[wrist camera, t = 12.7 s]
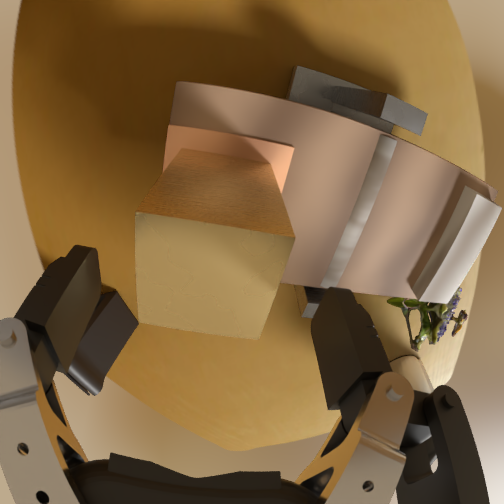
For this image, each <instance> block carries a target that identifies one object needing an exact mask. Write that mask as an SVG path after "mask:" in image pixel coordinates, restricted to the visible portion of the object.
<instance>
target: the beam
mask: <svg viewBox="0 0 504 504" xmlns="http://www.w3.org/2000/svg"><path fill="white" fill-rule="evenodd" d="M182 148H185V149H192V150H198V151H205V152H211V153H217V154H223V155H229V156H234V157H240V158H245V159H250V160H255V161H260V162H265V163H270V164H271V166H272V169H273V172H274V175H275V177H276V180H277V183H278V186H279V189H280V192H281V195H282V198H283V201H284V204H285V207H286V210H287V213H288V216H289V219H290V222H291V225H292V228H293V231H294V234H295V237H296V239H295V242H294V245H293V247H292V250H291V253H290V256H289V259H288V262H287V265H286V267H285V270H284V273H283V276H282V279H281V281H280V283H287V284H295V285H302V286H310V287H317V288H325V289H327V288H329V287H338V288H346V289H350V290H351V291H352V292H357V293H366V294H374V295H383V296H392V297H401V298H410V299H418V301H423V302H433V303H444V304H448V302H449V301H450V299H451V298H452V296H453V295H454V293H455V292H456V290H457V289H458V287H459V286H460V284H461V283H462V281H463V279H464V278H465V276H466V275H467V273H468V271H469V270H470V268H471V266H472V265H473V263H474V261H475V260H476V258H477V256H478V254H479V253H480V251H481V249H482V247H483V245H484V243H485V242H486V240H487V238H488V236H489V234H490V232H491V230H492V228H493V226H494V224H495V222H496V220H497V218H498V216H499V214H500V211H501V209H502V208H501V207H500V206H499V205H497V204H496V203H495V202H494V200H495V198H496V195H497V193H498V191H497V190H496V189H494V188H493V187H491V186H490V185H488V184H487V183H485V182H484V181H482V180H481V179H479V178H477V177H476V176H474V175H472V174H471V173H469V172H467V171H465V170H464V169H462V168H460V167H458V166H456V165H455V164H453V163H451V162H449V161H447V160H445V159H443V158H441V157H439V156H437V155H435V154H433V153H431V152H429V151H427V150H425V149H423V148H421V147H419V146H417V145H415V144H412V143H410V142H408V141H406V140H403V139H401V138H399V137H397V136H394V135H392V134H389V133H387V132H384V131H382V130H380V129H377V128H374V127H372V126H369V125H367V124H364V123H361V122H358V121H356V120H353V119H350V118H347V117H344V116H341V115H338V114H335V113H332V112H329V111H326V110H322V109H319V108H316V107H312V106H309V105H305V104H302V103H298V102H294V101H290V100H286V99H282V98H278V97H274V96H270V95H265V94H261V93H256V92H251V91H246V90H241V89H236V88H230V87H224V86H218V85H211V84H204V83H196V82H188V81H177V82H176V87H175V93H174V99H173V105H172V111H171V117H170V124H169V125H168V132H167V140H166V147H165V155H164V164H163V172H164V171H165V169H166V168H167V167H168V165H169V164H170V163H171V161H172V160H173V159H174V157H175V156H176V155H177V154H178V152H179V151H180V150H181V149H182Z"/></svg>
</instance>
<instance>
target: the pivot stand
mask: <svg viewBox="0 0 504 504" xmlns="http://www.w3.org/2000/svg"><path fill="white" fill-rule="evenodd" d="M286 100H290V101H294V102H298V103H302V104H305V105H309V106H312V107H316V108H319V109H322V110H326V111H329V112H332V113H335V114H338V115H341V116H344V117H347V118H350V119H353V120H356V121H358V122H361V123H364V124H367V125H369V126H372V127H374V128H377V129H380V130H382V131H384V132H387V133H389V134H391V131H392V128H393V125H397V126H399V127H402V128H404V129H406V130H409V131H411V132H413V133H415V134H418V135H420V136H421V133H422V130H423V127H424V124H425V121H426V118H427V115H428V114H427V113H425V112H424V111H422V110H420V109H418V108H416V107H414V106H412V105H410V104H408V103H406V102H404V101H402V100H400V99H398V98H396V97H394V96H391V95H389V94H386V93H381V92H375V91H370V90H368V89H365V88H363V87H360V86H358V85H355V84H353V83H350V82H347V81H344V80H342V79H339V78H336V77H333V76H330V75H327V74H324V73H321V72H318V71H315V70H311V69H308V68H305V67H301V66H294V69H293V73H292V77H291V80H290V84H289V88H288V92H287V96H286ZM294 287H295V291H296V296H297V300H298V304H299V309H300V313H301V317H306V318H313V316H314V314H315V312H316V310H317V308H318V306H319V304H320V302H321V300H322V298H323V296H324V294H325V292H326V290H327V289H325V288H317V287H310V286H302V285H295V284H294Z"/></svg>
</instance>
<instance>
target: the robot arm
mask: <svg viewBox="0 0 504 504" xmlns="http://www.w3.org/2000/svg"><path fill="white" fill-rule="evenodd" d="M100 294H101V277H100V269H99V260H98V252H97V250H96V248H92V247H86V246H81V245H75V246H74V247H73V248H72V249H71V250H70V252H69V253H68V254H67V256H66V257H60V258H58V259H57V260H55V261H54V262H53V263H51V264H50V265H49V266H48V267H47V269H46V270H45V272H44V273H43V274H42V277H40V279H39V280H38V281H37V283H36V286H34V287H33V288H32V290H31V291H30V293H29V294H28V296H27V297H26V299H25V300H24V302H23V303H22V305H21V307H20V308H19V310H18V312H17V313H16V315H15V316H14V318H4V319H2V320H0V464H1V467H2V470H3V473H4V476H5V478H6V481H7V484H8V486H9V488H10V491H11V494H12V496H13V499H14V501H15V503H16V504H389V503H390V501H391V498H392V496H393V494H394V491H395V489H396V493H397V500H398V504H490V503H489V497H488V492H487V487H486V483H485V478H484V474H483V470H482V466H481V462H480V458H479V455H478V451H477V448H476V444H475V441H474V438H473V434H472V431H471V428H470V425H469V422H468V419H467V416H466V413H465V411H464V408H463V405H462V403H461V400H460V398H459V396H458V394H457V393H456V392H455V391H454V390H453V389H452V388H451V387H449V386H446V385H441V386H438V387H437V388H436V389H435V390H434V389H433V386H432V384H431V381H430V379H429V377H428V375H427V372H426V370H425V368H424V366H423V363H422V361H421V359H420V360H418V359H417V358H416V357H415V356H404V357H401V358H398V359H396V360H394V361H392V362H390V363H389V361H388V358H387V355H386V353H385V350H384V348H383V346H382V343H381V341H380V338H378V333H377V331H376V329H374V327H375V326H374V324H373V322H372V319H371V317H370V315H369V314H368V313H367V311H366V310H365V309H364V308H363V307H362V306H361V304H357V302H356V300H355V298H354V295H353V293H352V291H351V290H350V289H346V288H338V287H329V288H327V290H326V292H325V294H324V296H323V298H322V300H321V302H320V304H319V306H318V308H317V310H316V312H315V314H314V316H313V318H312V322H311V334H312V338H313V343H314V347H315V352H316V356H317V360H318V365H319V370H320V374H321V379H322V383H323V388H324V393H325V398H326V402H327V407H328V410H339V409H340V411H341V416H340V417H339V418H338V420H337V421H336V423H335V425H334V427H333V429H332V430H331V432H330V434H329V436H328V437H327V439H326V441H325V443H324V444H323V446H322V448H321V449H320V451H319V452H318V454H317V456H316V457H315V459H314V460H313V461H312V462H311V463H310V465H309V466H307V468H306V469H305V470H304V471H303V472H302V473H301V474H300V476H299V477H298V478H297V480H296V481H295V483H294V482H292V481H288V480H285V479H281V476H280V471H270V472H243V471H242V472H241V471H239V472H234V473H228V474H223V475H216V476H210V477H203V478H193V477H189V476H186V475H183V474H180V473H178V472H175V471H173V470H170V469H168V468H165V467H163V466H160V465H158V464H155V463H153V462H150V461H145V460H140V459H135V458H131V457H126V456H122V455H118V454H115V453H110V458H109V459H102V460H93V461H88V459H87V457H86V455H85V453H84V451H83V449H82V447H81V445H80V443H79V442H78V440H77V439H76V437H75V435H74V434H73V432H72V430H71V427H70V425H69V423H68V420H67V418H66V415H65V412H64V409H63V407H62V404H61V401H60V398H59V396H58V392H57V389H56V386H55V383H54V380H53V377H54V374H55V372H56V371H58V372H61V373H64V374H67V373H68V370H69V368H70V365H71V362H72V360H73V357H74V355H75V352H76V350H77V348H78V345H79V343H80V340H81V338H82V336H83V333H84V331H85V329H86V327H87V324H88V322H89V320H90V318H91V316H92V313H93V311H94V309H95V307H96V305H97V303H98V301H99V298H100ZM436 458H437V459H438V467H437V470H436V471H435V472H434V473H433V472H432V470H431V464H432V463H433V462H434V461H435V460H436Z"/></svg>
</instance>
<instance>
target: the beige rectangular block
mask: <svg viewBox="0 0 504 504" xmlns="http://www.w3.org/2000/svg"><path fill="white" fill-rule="evenodd" d="M295 239H296V237H295V234H294V231H293V228H292V225H291V222H290V219H289V216H288V213H287V210H286V207H285V204H284V201H283V198H282V195H281V192H280V189H279V186H278V183H277V180H276V177H275V175H274V172H273V169H272V166H271V164H270V163H265V162H260V161H255V160H250V159H245V158H240V157H234V156H229V155H223V154H217V153H211V152H205V151H198V150H192V149H185V148H182V149H181V150H180V151H179V152H178V154H177V155H176V156H175V157H174V159H173V160H172V161H171V163H170V164H169V165H168V167H167V168H166V169H165V171H164V172H163V173H162V175H161V176H160V177H159V179H158V180H157V182H156V183H155V184H154V186H153V187H152V188H151V190H150V191H149V193H148V194H147V196H146V197H145V198H144V200H143V201H142V203H141V204H140V206H139V207H138V209H137V210H136V213H135V261H136V288H137V305H138V318H139V322H141V323H146V324H151V325H157V326H162V327H168V328H174V329H180V330H186V331H193V332H200V333H207V334H214V335H222V336H230V337H238V338H247V339H256V340H259V338H260V335H261V333H262V330H263V327H264V325H265V322H266V319H267V317H268V314H269V311H270V309H271V306H272V303H273V301H274V298H275V295H276V292H277V290H278V287H279V284H280V281H281V279H282V276H283V273H284V270H285V267H286V265H287V262H288V259H289V256H290V253H291V250H292V247H293V245H294V242H295Z"/></svg>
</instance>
